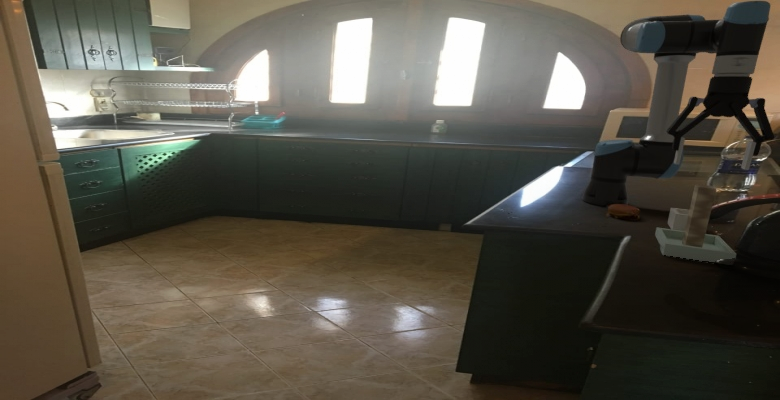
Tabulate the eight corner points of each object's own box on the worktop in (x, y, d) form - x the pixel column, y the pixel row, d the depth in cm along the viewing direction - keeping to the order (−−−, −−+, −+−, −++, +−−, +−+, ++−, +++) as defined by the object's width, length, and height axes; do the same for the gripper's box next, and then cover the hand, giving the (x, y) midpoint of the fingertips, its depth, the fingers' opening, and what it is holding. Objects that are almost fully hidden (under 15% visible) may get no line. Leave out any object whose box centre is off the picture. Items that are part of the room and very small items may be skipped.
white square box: (671, 233, 116) (675, 213, 114) (666, 226, 122) (670, 207, 121) (702, 237, 113) (707, 217, 111) (696, 230, 119) (700, 211, 118)
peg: (684, 247, 101) (698, 187, 97) (681, 243, 104) (695, 184, 100) (701, 250, 100) (716, 188, 96) (697, 245, 103) (712, 185, 99)
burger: (602, 213, 135) (605, 200, 133) (633, 216, 132) (636, 203, 131) (609, 222, 126) (612, 208, 124) (642, 225, 123) (645, 211, 122)
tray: (663, 255, 99) (665, 243, 98) (654, 238, 112) (656, 227, 111) (733, 266, 94) (736, 253, 93) (715, 247, 106) (718, 235, 105)
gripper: (670, 75, 93) (652, 163, 99) (812, 75, 83) (782, 174, 89) (664, 76, 100) (648, 159, 105) (795, 76, 89) (769, 168, 95)
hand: (709, 166), depth 97 cm, fingers open, 13 cm apart
